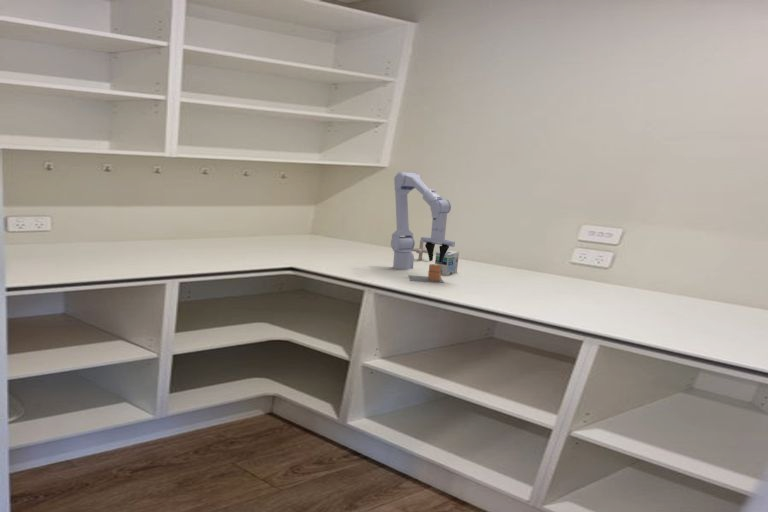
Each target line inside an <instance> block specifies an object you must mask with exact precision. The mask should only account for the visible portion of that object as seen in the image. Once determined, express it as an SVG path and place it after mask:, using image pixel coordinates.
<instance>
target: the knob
mask: <svg viewBox="0 0 768 512" xmlns="http://www.w3.org/2000/svg"><path fill="white" fill-rule="evenodd" d="M441 276H442V275H441V265H438V264H435V263H431V264H429V267H428V273H427V277H428V279H429V280H432V281H439V280H440V278H442V277H441Z"/></svg>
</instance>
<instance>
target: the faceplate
mask: <svg viewBox="0 0 768 512" xmlns="http://www.w3.org/2000/svg"><path fill="white" fill-rule="evenodd" d="M408 278H409V281H410V282H422V283H436V284H437V283H439V284H445V281H444V280H443V278H442V277H441V278H440V280H439V281H432V280H429V279H428V275H427V276H426V275H423V276H422V275H411V274H410V275H408Z"/></svg>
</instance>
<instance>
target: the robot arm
mask: <svg viewBox="0 0 768 512" xmlns="http://www.w3.org/2000/svg"><path fill="white" fill-rule="evenodd" d="M421 177H422V176H421V175H419V173H418V172H403V171H399V172H397V174H396V175H395V176H394V178H393V181H394V183H393V184H394V194H395V195H394V196H395V217H396V230H395V231H394V232H393V233H392V234H391V241H390V246H391V247H390V248H391V249H392V251H393V262H392V263H393V265H392V268H393V269H395V270H400V271H407V270H409V269H414V263H415V262H414V261H415V260H414V259H415V255H414V253H413V251H412V249H413V248H415V245H416V243H415V242H416V241H415V238H414V233H413V232H412V231H411V230H410V227H409V225H410V224H409V206H408V205H409V204H408V203H409V202H408V195H409V193H410V192H412V191H414V190H417V191H418V193H420V194H421V195H422V199H423V201H425V203H426V204H428V206H429V207H430V212H431V218H432V221H431V233H430V234H431V235H430V237H423V236H422V237H420V240H421V241H420V240H419V243H420V242H423V243H425V244H424V246H425V248H426V249H427V252H428V253H427V255H428V260H429V262H432V261H433V259H434V250H435V246H436V245H439V246H438V247H439V252H440V257H439V263H442V262H443V258H444V256H445V253H446V252H447V250H449V249H450V247H452V248H454V247H455V246H456V241H454V240H453V241H452V240H447V239H445V238H446V230H447V219H448V218H447V217H448V214H449V213H450V212H451V208H452V207H451V206H452V205H451V203H450V201H449V199H444V198H443V197H442V196H441V195H439V194H438V193H437V190H436V189H432V188H429V187H428V186H427V185H426V184H425V183H424V182H423V180H422V178H421Z"/></svg>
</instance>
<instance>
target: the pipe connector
mask: <svg viewBox="0 0 768 512" xmlns="http://www.w3.org/2000/svg"><path fill="white" fill-rule="evenodd" d="M420 241H421V239H420V240H419V246H418V247H414V248H413V249H412V252H415V253H417V254H418V261H423V253H425V254H428V252H427V249H426V247H424V242H420Z"/></svg>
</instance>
